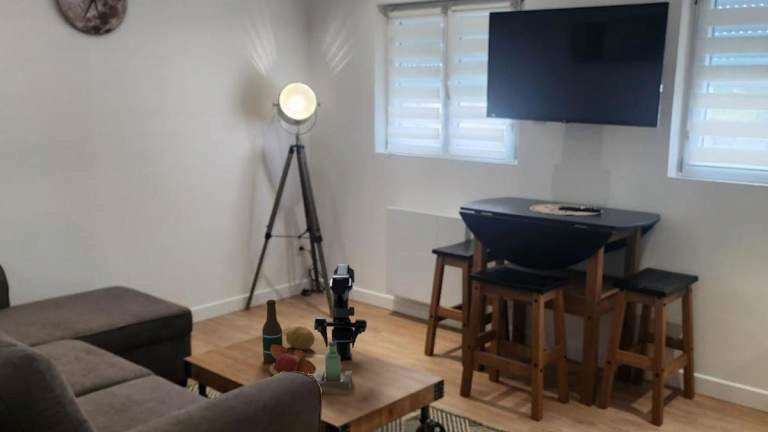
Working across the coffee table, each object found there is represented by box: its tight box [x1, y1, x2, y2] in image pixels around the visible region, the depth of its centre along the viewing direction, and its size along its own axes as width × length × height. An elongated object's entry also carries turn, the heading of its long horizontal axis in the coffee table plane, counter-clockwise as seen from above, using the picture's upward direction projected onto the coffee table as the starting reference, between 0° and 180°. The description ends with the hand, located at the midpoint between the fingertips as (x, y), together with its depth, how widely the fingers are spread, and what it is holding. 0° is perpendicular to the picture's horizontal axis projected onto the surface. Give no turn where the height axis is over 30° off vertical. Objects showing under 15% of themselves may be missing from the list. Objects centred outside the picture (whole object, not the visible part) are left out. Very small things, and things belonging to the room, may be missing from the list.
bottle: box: [324, 340, 342, 381], centre depth 246 cm, size 5×5×15 cm
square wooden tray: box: [314, 370, 353, 396], centre depth 247 cm, size 12×12×4 cm
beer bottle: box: [261, 299, 284, 365], centre depth 273 cm, size 8×8×24 cm
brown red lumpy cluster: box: [270, 344, 317, 375], centre depth 261 cm, size 20×9×15 cm
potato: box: [285, 325, 315, 351], centre depth 288 cm, size 10×13×9 cm
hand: (339, 347), depth 254 cm, fingers open, 9 cm apart
